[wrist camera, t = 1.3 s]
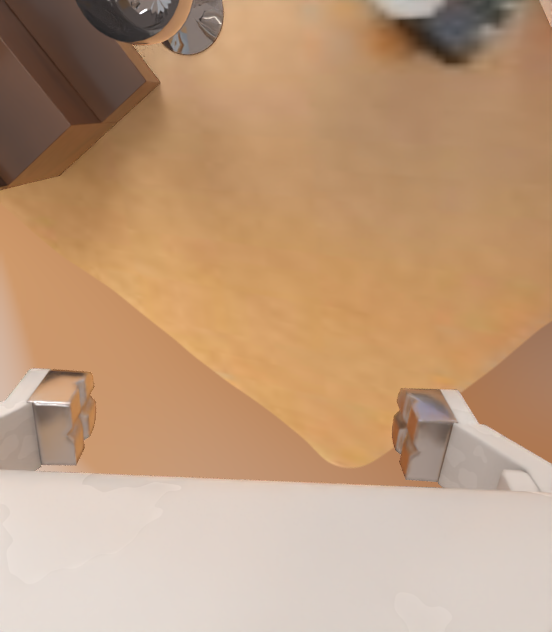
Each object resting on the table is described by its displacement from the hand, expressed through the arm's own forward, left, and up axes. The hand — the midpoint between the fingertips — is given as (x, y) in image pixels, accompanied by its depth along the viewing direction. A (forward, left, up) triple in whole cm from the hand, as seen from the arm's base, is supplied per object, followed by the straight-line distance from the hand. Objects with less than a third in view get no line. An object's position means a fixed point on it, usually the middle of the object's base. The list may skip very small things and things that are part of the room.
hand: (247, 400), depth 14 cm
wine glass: (+1, -20, -43) cm, 48 cm away
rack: (+14, -26, -43) cm, 52 cm away
